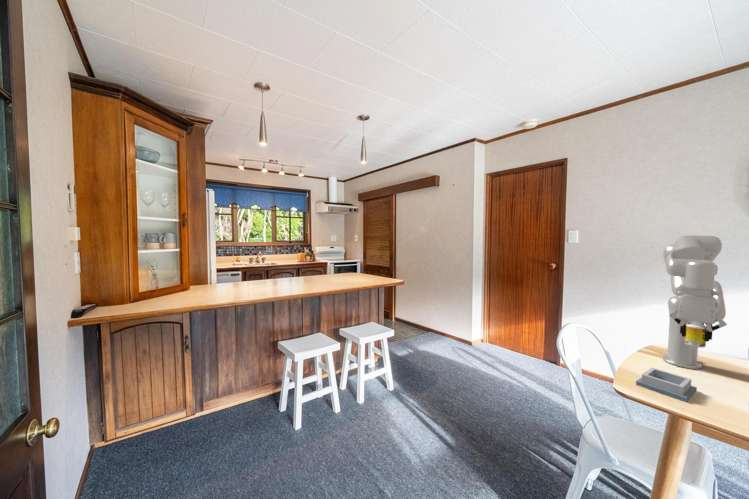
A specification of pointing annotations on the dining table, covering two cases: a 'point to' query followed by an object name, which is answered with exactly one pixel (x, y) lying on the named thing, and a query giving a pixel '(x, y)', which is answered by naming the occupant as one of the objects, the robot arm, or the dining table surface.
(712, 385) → the dining table surface
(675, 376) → the tray
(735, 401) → the dining table surface
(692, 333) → the supplement bottle
